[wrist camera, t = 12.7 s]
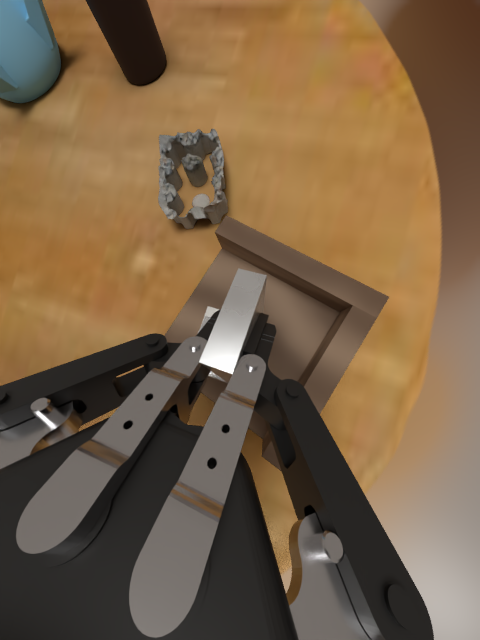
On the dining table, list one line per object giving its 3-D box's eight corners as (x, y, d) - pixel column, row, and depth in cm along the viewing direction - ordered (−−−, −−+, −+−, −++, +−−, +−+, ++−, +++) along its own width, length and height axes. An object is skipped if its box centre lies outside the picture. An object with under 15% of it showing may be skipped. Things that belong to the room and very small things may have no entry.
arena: (280, 447, 18) (284, 473, 15) (156, 354, 22) (132, 356, 18) (364, 307, 19) (389, 296, 15) (233, 238, 23) (226, 215, 19)
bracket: (188, 368, 18) (119, 334, 9) (208, 321, 20) (169, 251, 11) (244, 389, 17) (232, 374, 8) (260, 337, 19) (266, 275, 10)
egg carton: (230, 225, 23) (223, 200, 19) (172, 234, 24) (153, 211, 20) (226, 150, 25) (219, 113, 21) (172, 161, 26) (154, 127, 22)
